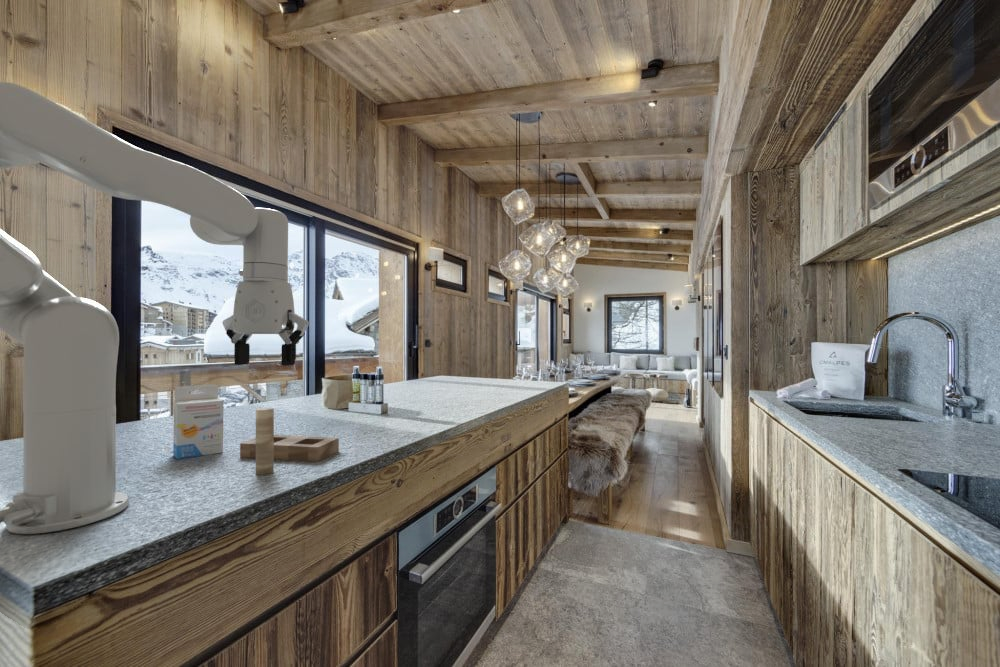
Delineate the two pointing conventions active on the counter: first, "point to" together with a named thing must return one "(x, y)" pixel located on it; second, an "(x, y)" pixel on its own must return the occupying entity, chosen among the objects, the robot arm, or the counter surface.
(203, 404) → the ink box
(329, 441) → the socket block
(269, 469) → the peg
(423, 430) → the counter surface
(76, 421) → the robot arm
